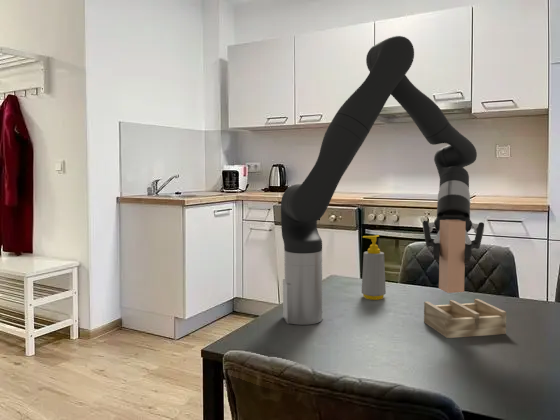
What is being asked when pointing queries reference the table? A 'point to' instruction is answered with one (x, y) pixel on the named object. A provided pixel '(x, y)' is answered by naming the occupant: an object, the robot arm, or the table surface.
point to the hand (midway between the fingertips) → (451, 260)
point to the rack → (465, 319)
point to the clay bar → (452, 256)
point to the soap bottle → (373, 272)
